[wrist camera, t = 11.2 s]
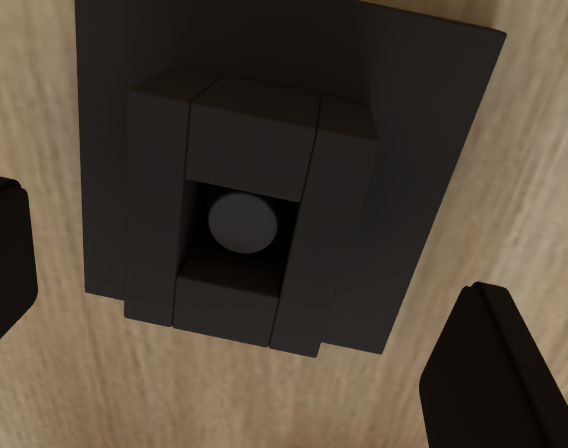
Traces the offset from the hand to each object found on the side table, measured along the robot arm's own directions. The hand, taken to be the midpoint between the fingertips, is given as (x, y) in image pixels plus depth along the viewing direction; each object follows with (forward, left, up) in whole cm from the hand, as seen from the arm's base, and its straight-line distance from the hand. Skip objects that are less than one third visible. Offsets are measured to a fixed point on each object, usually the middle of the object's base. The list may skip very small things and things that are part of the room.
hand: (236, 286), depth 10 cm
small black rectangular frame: (0, 0, -6) cm, 6 cm away
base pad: (0, 0, -7) cm, 7 cm away
